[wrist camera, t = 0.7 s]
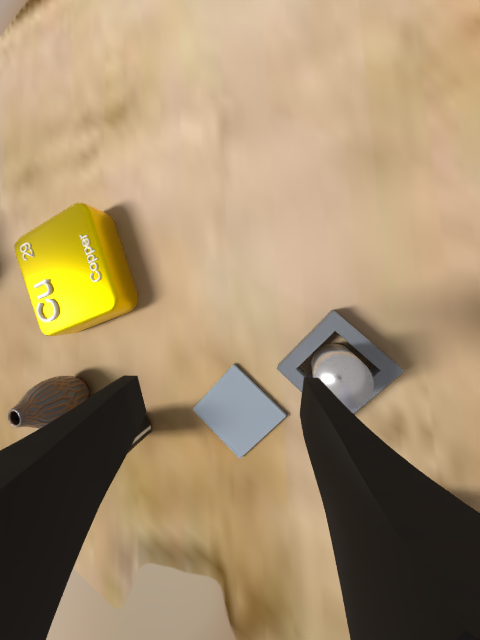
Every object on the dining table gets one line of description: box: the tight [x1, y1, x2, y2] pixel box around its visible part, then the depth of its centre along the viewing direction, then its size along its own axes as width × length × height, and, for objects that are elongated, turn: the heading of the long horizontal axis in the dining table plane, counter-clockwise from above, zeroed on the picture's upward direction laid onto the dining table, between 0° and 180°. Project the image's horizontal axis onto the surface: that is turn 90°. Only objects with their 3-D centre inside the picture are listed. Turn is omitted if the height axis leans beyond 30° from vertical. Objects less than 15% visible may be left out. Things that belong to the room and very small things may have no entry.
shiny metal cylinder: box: [311, 343, 374, 409], centre depth 23 cm, size 5×5×6 cm
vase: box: [8, 376, 89, 428], centre depth 33 cm, size 7×7×9 cm
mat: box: [193, 364, 287, 459], centre depth 29 cm, size 9×9×1 cm
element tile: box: [15, 203, 138, 336], centre depth 32 cm, size 15×15×5 cm
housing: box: [277, 310, 404, 414], centre depth 25 cm, size 9×9×2 cm
